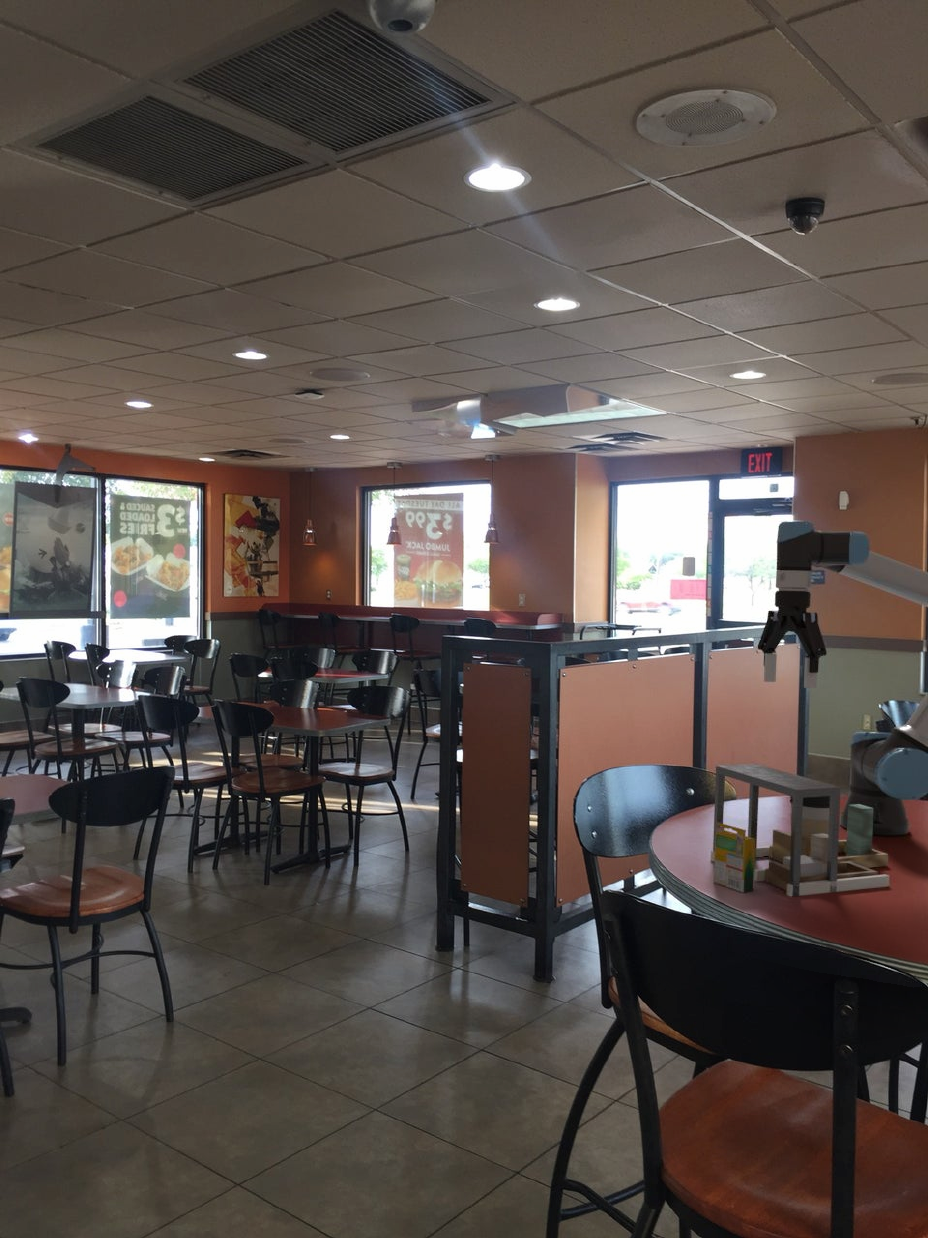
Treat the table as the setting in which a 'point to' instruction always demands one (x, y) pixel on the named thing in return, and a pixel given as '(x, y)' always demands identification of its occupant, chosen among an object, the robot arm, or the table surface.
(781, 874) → the sled
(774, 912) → the table surface
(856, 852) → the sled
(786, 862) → the grey block
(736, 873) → the crayon box
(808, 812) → the coffee cup
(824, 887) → the lane rails
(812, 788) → the shelf
